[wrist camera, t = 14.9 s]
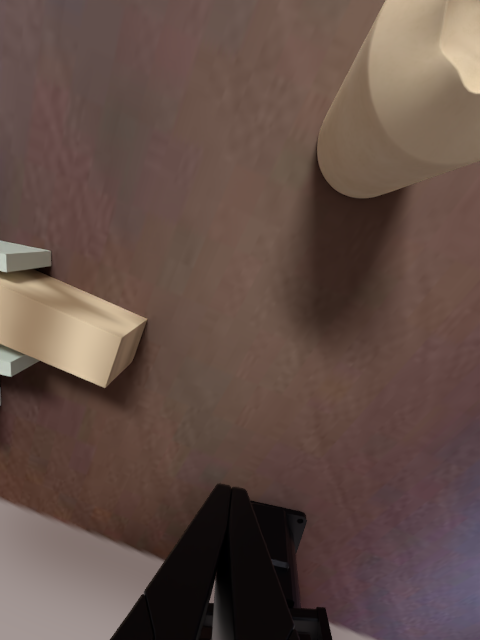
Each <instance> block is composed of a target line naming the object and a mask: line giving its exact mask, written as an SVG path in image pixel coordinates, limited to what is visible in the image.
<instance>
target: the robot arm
mask: <svg viewBox="0 0 480 640" xmlns="http://www.w3.org/2000/svg"><path fill="white" fill-rule="evenodd" d="M306 522H307V520H306V515H305V514H304V513H303V512H300V511H295V510H291V509H286V508H282V507H277V506H273V505H268V504H263V503H259V502H254V501H250V499H249V496H248V493H247V491H246V490H245V489H244V488H239V487H232V489H231V486H230V485H225V484H221V483H219V484H217V485H216V486H215V488H214V489H213V491H212V492H211V494H210V495H209V497H208V498H207V500H206V501H205V503H204V504H203V506H202V507H201V509H200V510H199V511H198V513H197V514H196V516H195V517H194V519H193V520H192V522H191V523H190V525H189V526H188V528H187V529H186V531H185V532H184V534H183V535H182V536H181V538H180V539H179V541H178V542H177V544H176V545H175V547H174V548H173V550H172V551H171V553H170V554H169V556H168V557H167V559H166V560H165V561H164V563H163V564H162V566H161V568H160V569H159V570H158V572H157V573H156V575H155V576H154V578H153V579H152V581H151V582H150V583H149V585H148V586H147V588H146V589H145V591H144V594H142V595H141V597H140V598H139V599H138V601H137V602H136V604H135V605H134V607H133V608H132V610H131V611H130V613H129V614H128V615H127V617H126V618H125V620H124V621H123V622H122V624H121V625H120V627H119V628H118V629H117V631H116V632H115V633H114V635H113V636H112V638H111V639H110V640H332V636H331V632H330V627H329V622H328V618H327V613H326V609H325V608H324V607H316V609H307V608H301V604H300V594H299V584H298V574H297V564H296V552H297V549H298V546H299V543H300V540H301V537H302V534H303V531H304V528H305V525H306ZM216 572H217V573H216ZM215 576H216V582H215V596H214V603H209V600H210V596H211V593H212V589H213V585H214V580H215Z"/></svg>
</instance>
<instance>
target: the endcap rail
mask: <svg viewBox="0 0 480 640" xmlns="http://www.w3.org/2000/svg"><path fill="white" fill-rule="evenodd" d="M48 266H51V251H49V250H44V249H39V248H34V247H29V246H24V245H19V244H15V243H10V242H5V241H0V271H3V272H13V271H20V270H27V269H34V268H41V267H48ZM39 361H40V360H37V359H35V358H33V357H30V356H28V355H26V354H23V353H21V352H19V351H16V350H14V349H11V348H9V347H7V346H4V345H2V344H0V375H5V376H9V377H12V376H14V375H15V374H17V373H19V372H21V371H22V370H24V369H26V368H28V367H30V366H31V365H33V364H35V363H37V362H39ZM0 406H1V389H0Z"/></svg>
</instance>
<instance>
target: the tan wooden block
mask: <svg viewBox="0 0 480 640" xmlns="http://www.w3.org/2000/svg"><path fill="white" fill-rule="evenodd" d="M146 322H147V319H146V318H144V317H141V316H139V315H137V314H134V313H132V312H130V311H128V310H125V309H123V308H121V307H118V306H116V305H114V304H112V303H109V302H107V301H105V300H102V299H100V298H98V297H96V296H93V295H91V294H89V293H86V292H84V291H82V290H80V289H77V288H75V287H73V286H70V285H68V284H66V283H64V282H61V281H59V280H57V279H54V278H52V277H50V276H48V275H45V274H43V273H41V272H38V271H36V270H34V269H27V270H20V271H13V272H3V271H0V344H2V345H4V346H7V347H9V348H11V349H14V350H16V351H19V352H21V353H23V354H26V355H28V356H30V357H33V358H35V359H37V360H40V361H42V362H45V363H47V364H49V365H52V366H54V367H56V368H59V369H61V370H63V371H66V372H68V373H71V374H73V375H75V376H78V377H80V378H82V379H85V380H87V381H89V382H92V383H94V384H97V385H99V386H101V387H104V388H106V387H107V386H108V385H109V384H110V383H111V382H112V381H113V380H114V379H115V378H116V377H117V376H118V375H119V374H120V373H121V372H122V371H123V370H124V369H125V368H126V367H127V366H128V365H129V364H130V363H132V361H133V358H134V356H135V353H136V350H137V347H138V344H139V342H140V339H141V336H142V333H143V330H144V327H145V325H146Z"/></svg>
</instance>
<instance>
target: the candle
mask: <svg viewBox="0 0 480 640" xmlns="http://www.w3.org/2000/svg"><path fill="white" fill-rule="evenodd" d="M317 157H318V163H319V167H320V169H321V172H322V174H323V176H324V178H325V179H326V181H327V182H328V183H329V184H330V185H331V187H333V188H334V189H335V190H336V191H338V192H340V193H341V194H344V195H346V196H349V197H353V198H372V197H376V196H380V195H383V194H386V193H389V192H392V191H395V190H398V189H401V188H403V187H406V186H409V185H412V184H415V183H418V182H421V181H424V180H427V179H429V178H432V177H435V176H438V175H441V174H444V173H447V172H450V171H452V170H455V169H458V168H461V167H464V166H467V165H470V164H473V163H475V162H478V161H480V0H386V1H385V3H384V4H383V6H382V8H381V10H380V12H379V14H378V16H377V18H376V20H375V22H374V24H373V25H372V27H371V29H370V31H369V33H368V35H367V37H366V39H365V41H364V43H363V45H362V47H361V49H360V51H359V53H358V55H357V56H356V58H355V60H354V62H353V64H352V66H351V68H350V70H349V72H348V74H347V76H346V78H345V80H344V82H343V84H342V86H341V87H340V89H339V91H338V93H337V95H336V97H335V99H334V101H333V103H332V105H331V107H330V109H329V111H328V113H327V115H326V117H325V119H324V121H323V124H322V126H321V129H320V132H319V136H318V143H317Z"/></svg>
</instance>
